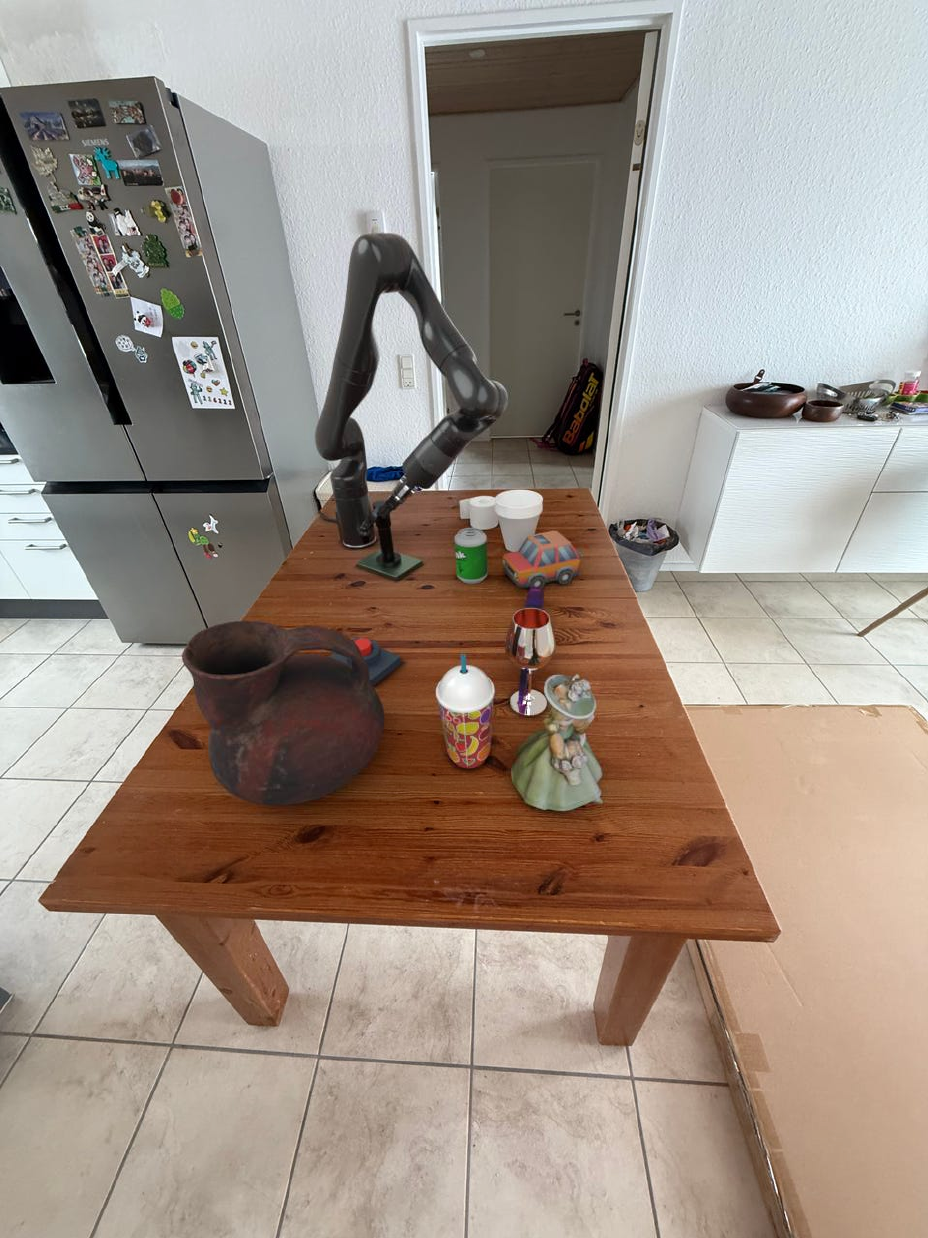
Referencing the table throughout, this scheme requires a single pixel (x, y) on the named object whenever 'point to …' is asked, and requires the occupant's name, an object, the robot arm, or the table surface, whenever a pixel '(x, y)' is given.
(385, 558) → the tap base
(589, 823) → the table surface
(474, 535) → the soda can
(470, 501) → the toilet paper
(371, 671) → the button box
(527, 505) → the cup
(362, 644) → the button
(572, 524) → the table surface
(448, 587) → the table surface
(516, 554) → the toy car
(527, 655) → the wineglass
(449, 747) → the smoothie
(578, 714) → the figurine
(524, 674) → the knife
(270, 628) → the jug
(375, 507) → the spout
